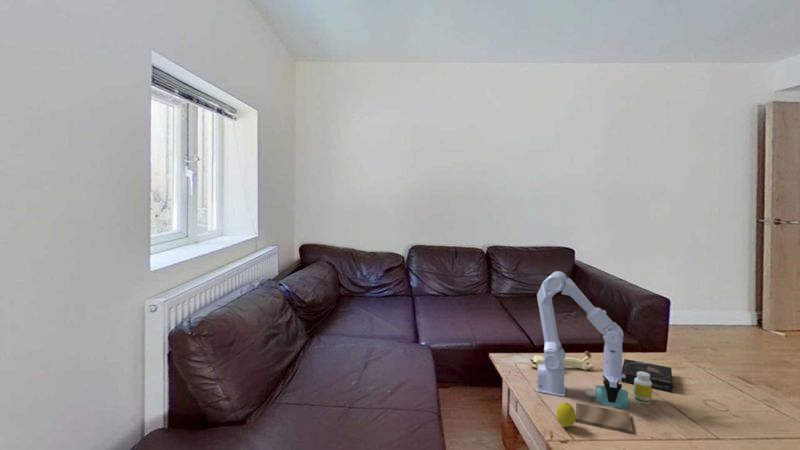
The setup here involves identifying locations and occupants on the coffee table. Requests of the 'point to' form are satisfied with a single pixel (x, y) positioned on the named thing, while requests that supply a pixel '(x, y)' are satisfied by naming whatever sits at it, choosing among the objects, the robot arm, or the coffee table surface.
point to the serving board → (603, 418)
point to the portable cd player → (658, 374)
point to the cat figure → (566, 362)
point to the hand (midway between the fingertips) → (611, 398)
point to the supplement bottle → (642, 388)
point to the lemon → (565, 414)
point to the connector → (603, 399)
